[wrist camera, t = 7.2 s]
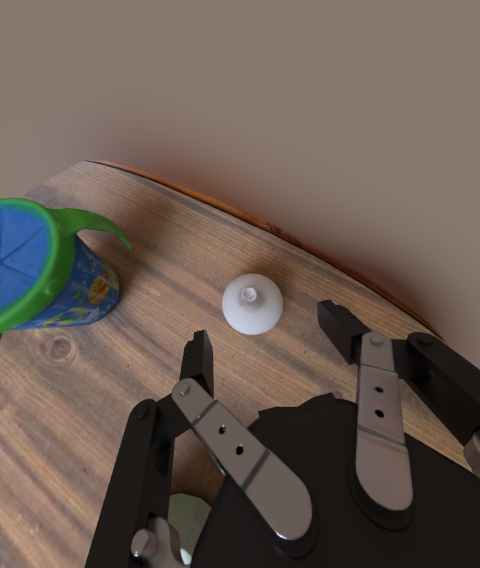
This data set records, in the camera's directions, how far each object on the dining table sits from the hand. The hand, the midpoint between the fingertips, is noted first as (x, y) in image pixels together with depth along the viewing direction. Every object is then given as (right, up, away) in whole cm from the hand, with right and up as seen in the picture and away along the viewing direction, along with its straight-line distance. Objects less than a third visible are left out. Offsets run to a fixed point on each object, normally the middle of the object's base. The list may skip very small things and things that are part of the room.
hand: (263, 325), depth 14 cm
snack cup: (-19, +2, +10) cm, 22 cm away
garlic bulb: (0, 0, +9) cm, 9 cm away
